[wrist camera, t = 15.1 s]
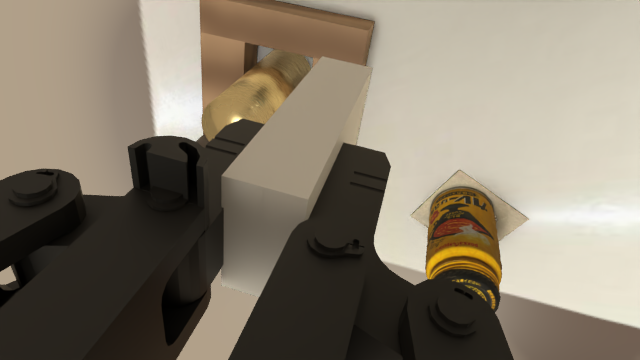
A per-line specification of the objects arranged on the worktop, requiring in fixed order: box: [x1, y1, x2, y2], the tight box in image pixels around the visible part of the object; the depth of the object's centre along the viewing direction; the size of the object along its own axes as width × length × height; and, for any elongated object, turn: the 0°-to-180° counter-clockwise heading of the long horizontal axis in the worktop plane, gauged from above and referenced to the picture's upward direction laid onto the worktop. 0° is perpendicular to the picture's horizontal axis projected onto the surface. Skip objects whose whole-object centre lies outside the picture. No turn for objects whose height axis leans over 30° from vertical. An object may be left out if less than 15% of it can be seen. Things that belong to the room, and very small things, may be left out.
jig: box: [196, 0, 375, 148], centre depth 38 cm, size 15×14×6 cm
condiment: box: [411, 170, 529, 312], centre depth 38 cm, size 7×8×12 cm
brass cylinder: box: [202, 49, 311, 142], centre depth 34 cm, size 5×5×12 cm
